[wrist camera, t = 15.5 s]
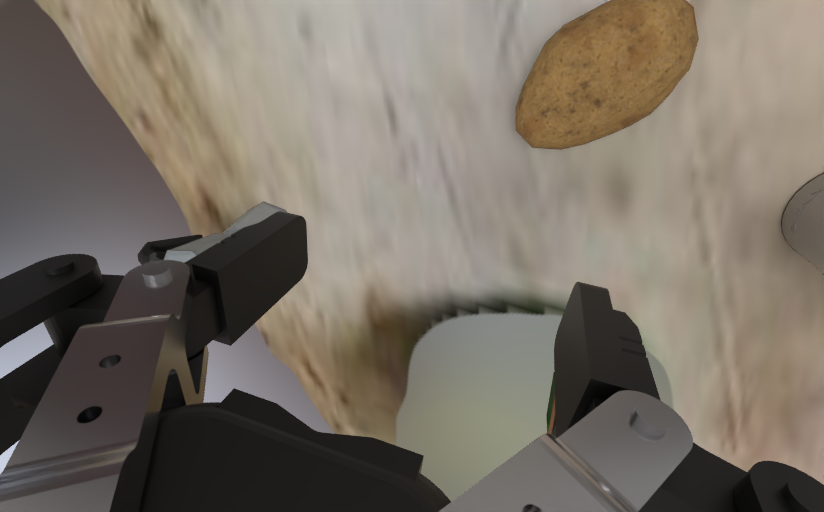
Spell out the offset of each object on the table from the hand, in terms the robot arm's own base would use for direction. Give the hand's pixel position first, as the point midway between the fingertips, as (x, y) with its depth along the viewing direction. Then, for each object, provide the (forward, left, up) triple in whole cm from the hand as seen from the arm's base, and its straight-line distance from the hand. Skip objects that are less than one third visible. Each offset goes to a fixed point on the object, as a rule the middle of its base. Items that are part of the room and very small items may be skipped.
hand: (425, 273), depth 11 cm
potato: (-6, -4, -32) cm, 33 cm away
